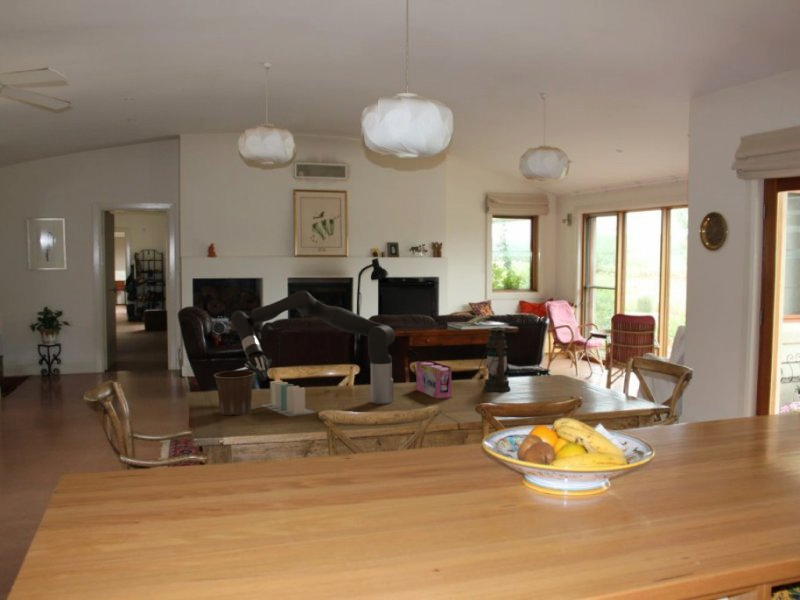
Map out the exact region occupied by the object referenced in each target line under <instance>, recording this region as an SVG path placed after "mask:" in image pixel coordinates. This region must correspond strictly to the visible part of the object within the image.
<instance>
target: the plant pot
mask: <svg viewBox="0 0 800 600" xmlns="http://www.w3.org/2000/svg"><path fill="white" fill-rule="evenodd" d="M255 375H256V373H255V372H253V371H251V370H243V369H242V370H240V369H239V370H226V371H220V372H217V373H214V374H213V377H214V379H215V385H216V387H217V394H218V403H219V411H220V414H221V415H223V416H227V415H231V416H232V415H234V416H240V415H245V414H249V413H251V411H252V397H253V396H252V395H253V384H254V377H255Z"/></svg>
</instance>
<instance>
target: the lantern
mask: <svg viewBox="0 0 800 600" xmlns="http://www.w3.org/2000/svg"><path fill="white" fill-rule="evenodd" d="M505 330H506V329H505V328H502V327H498V326H497V327H491V328H488V331H490V332H489V333H490V334H488V340H486V341H487V345H486V350H485V353H484V355H483V357H482V359H481V361H480V364H479V367H478V369H477V371H478V374H479V377H486V376H487V374H488V375H489V376H490V377H489V378H487V379H485V380H484V386H483V387H482V388H483V389H482V390H483V391H484V392H487V393H495V394H497V393H508V392H510V391H511V387H510V383H509V382H510V381H509V377H506V376H505V372H506V370H507V369H508V366H509V364H508V362H507V361H508V360H507V359H508V358H507V356H508V355H507V352H506V351H505V348H508V346H507V340H506V339H505V338H506V335H505V334H504V331H505ZM486 356H487V357H486ZM485 357H486V363H485V364H486V366H485V367H486V369H487V372H486V373H485V374H484V375H482V374H481V373H480V368H481V365H482V363H483V361H484V359H485Z"/></svg>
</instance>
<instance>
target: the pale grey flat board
mask: <svg viewBox="0 0 800 600" xmlns="http://www.w3.org/2000/svg"><path fill="white" fill-rule="evenodd" d="M260 406H262V407H263V408H267V409H269V410H270V411H274V412H276V413H279V414H281V415H284V416H287V417H289V418H290V417H295V416H302V415H309V414H313V413H314V414H315V413H316V411H313V410H311V409H307V408H305V413H299V414H292V412H287V409H286V410H282V409H281V407H279V408H277V407H276V405H274V406H272V405H271V403H268V404H261V405H260Z"/></svg>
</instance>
